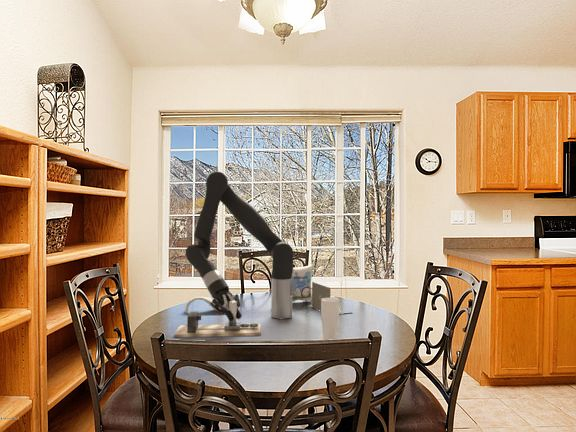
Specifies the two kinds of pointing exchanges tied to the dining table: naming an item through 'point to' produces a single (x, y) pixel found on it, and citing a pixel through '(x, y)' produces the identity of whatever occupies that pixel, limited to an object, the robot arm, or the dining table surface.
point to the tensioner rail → (211, 329)
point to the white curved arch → (199, 299)
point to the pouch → (302, 283)
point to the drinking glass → (330, 317)
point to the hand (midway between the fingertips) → (236, 318)
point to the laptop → (319, 295)
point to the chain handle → (235, 318)
